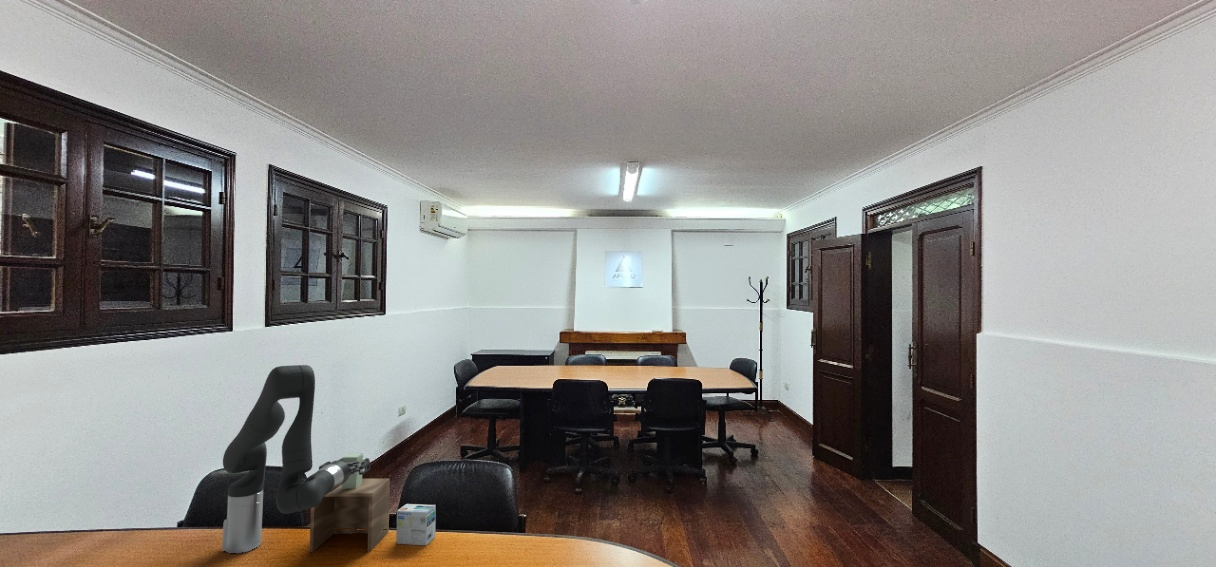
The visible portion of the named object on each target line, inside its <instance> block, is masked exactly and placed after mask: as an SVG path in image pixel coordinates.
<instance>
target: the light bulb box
mask: <svg viewBox="0 0 1216 567" xmlns="http://www.w3.org/2000/svg"><path fill="white" fill-rule="evenodd" d="M436 508H437V507H436V504H421V503H420V504H419V503H417V504H416V503H414V504H413V503H406V504H404V505H403V506H401V507H400V508H399V509H398V510H397V512H396V535H395V536H396V538H395V539H396V541H395V542H396V543H395V544H396V545H411V546H412V545H414V546H417V545H418V546H428V545H429V543H431V542H432V541H433V540H434V539H435V538H436V515H437V514H436Z"/></svg>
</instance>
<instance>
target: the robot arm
mask: <svg viewBox="0 0 1216 567" xmlns="http://www.w3.org/2000/svg"><path fill="white" fill-rule="evenodd" d="M315 377H316V374H315V372H314V369H313V367H312V366H310V365H308V364H301V365H299V364H296V365H281V366H275V367H274V368H272V369H271V370H270V371H269V374H267V377H266V380H265V382H264V385H263V387H262V389H261V392H260V395H259V398H258V399H257V401H256V403H255V404H254V406H253V408H252V410H251V411H250V412H249V414H248V415H247V418H246V419H245V421H244V424H243V425H242V427H241V429H240V430H239V432H238V433H237V434H236V436H235V437H234V438H233V439H232V440H231V442H230V443H229V444H228V446H227V447H226V449H225V451H224V453H223V456H222V467H223V469H224V470H225V472H226V473H228V474H240V473H245V472H247V473H246V474H245V475H244V476H243V477H241V478H240V479H238V480H237V481H234V482H232V483H231V484H230V485H229V486H228V490H227V493H228V494H227V511H226V514H227V515H226V519H224V521H223V525H222V526H223V528H222V548H221V551H222V550H224V551H226V552H225V553H227V552H228V553H227V554H230V553H236V554H243V553H246V552H250V551H252V549H253V550H255V549H257V548H259V547H260V546H261V545H262V530H263V526H262V525H263V508H264V506H263V503H264V500H263V499H264V485H265V484H264V483H265V479H266V478H265V476H266V475H265V474H266V466H267V457H268V451H267V450H268V449H267V445H266V442H268V441H269V440H271V439H272V438H273V437H274V436H275V435H276V434H277V433H278V432H279V430H280V428H281V427H282V425H283V423H284V421H285V420H286V413H285V410H284V408H283V406H282V404H280V402H279V401H280V400H285V399H287V400H289V399H296V398H298V399H299V400H298V401H299V402H298V403H299V404H298V410H297V413H296V415H295V417H294V420H293V421H292V423H291V424H290V426H289V428H288V430H287V432H286V433H285V436H284V438H283V440H282V444H281V462H282V471H281V474H280V481H279V485H278V487H277V488H278V489H277V491H276V492H277V493H276V496H275V503H276V507H277V510H278V511H279V512H280V513H281V514H285V515H287V514H289V515H290V514H292V513H298V512H302V511H306V510H309V509H310V510H311V508H313V507H315V506H317V505H318V504H319V503H320V502H321V500H322V499H323V497H324V496H325V495H326V494H327V493H329V492H331V491H333V490H335V489H336V488H337V487H339V486H340V485H342V484H343V483H345V482H346V481H347V479H348V478H349V476H350V475H351V474H354V473H358V472H359V475H362V476H363V475H364V474H365V473H367V472H368V471H370V470H371V461H370V460H371V459H370V458H368V457H367V458H366V457H365V459H364V458H363V461H361V462H357V461H355V462H351V463H345V462H343V457H342V458H340V459H338V460H333V461H326V462H325V463H323V464H321V465H319V466H318V470H317V471H316V472H314V473H313V474H311V475H309V476H308V477H306V478H305V479H304V481H303V482H300V483H298V480H299V478H300V477H301V476H302V475H303V474H307V473H308V472H310V471H311V470H312V469H313V453H312V450H313V449H312V425H313V416H314V415H313V414H314V404H315V403H314V402H315V393H316V391H315V390H316V378H315ZM354 464H355V467H354V466H353V465H354ZM360 464H361V465H360ZM359 465H360V466H359ZM259 545H260V546H259ZM256 547H257V548H256ZM254 548H255V549H254ZM242 552H243V553H242Z"/></svg>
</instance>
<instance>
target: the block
mask: <svg viewBox="0 0 1216 567" xmlns="http://www.w3.org/2000/svg"><path fill="white" fill-rule="evenodd" d="M342 458H343V462H345V463H351V462H355V461H357V462H361V461H363V460H364V453H358V452H357V453H354V452H353V453H348V454H346V455H344V456H343V457H342ZM360 465H361V464H360ZM360 465H359V466H360ZM353 466H354V467H355V464H354V465H353ZM362 479H363V474H362V475H359V472H358V473H354V474H351V475H350V476H349V478H348V479H347V481H346V482H345V483H343V484H342V489H356V488H357V487H359V486H360V485H361V484H362Z"/></svg>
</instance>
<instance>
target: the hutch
mask: <svg viewBox="0 0 1216 567" xmlns="http://www.w3.org/2000/svg"><path fill="white" fill-rule="evenodd" d="M390 488H391V478H362V484H361V485H360V486H359V487H357V488H356V489H342V485H340V486H339V487H337V488H336V489H335V490H333V491H331V492H329V493H327V494H326V495H325V496H324V497H323V499H322V500H321V502H320V503H319V504H318V505H317V506H315V507H313V508H310V525H309V527H310V528H309V551H308V552H309V553H313V552H315V550H317V549H318V548H319V547H320V546H321V545H323V543H324V542H326V541H328V540H329V538H330V537H332V536H333V535H339V534H340V535H343V534H345V535H346V534H347V533H348V534H347V535H353V534H352V533H363V534H364V533H365V534H366V535H367V552H372V551H373V550H374V549H375V547H377V545H378V544H380V542H381V541H382V540H383V539H384V538H385V537H386V535H387V534H388V533H389V528H390V526H389V522H390V521H389V520H390V495H391V494H390V491H391V490H390ZM333 528H355V529H333ZM357 529H368V530H357ZM383 529H387V530H383ZM363 534H362V535H363ZM365 534H364V535H365ZM373 548H374V549H373ZM372 549H373V550H372Z"/></svg>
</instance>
